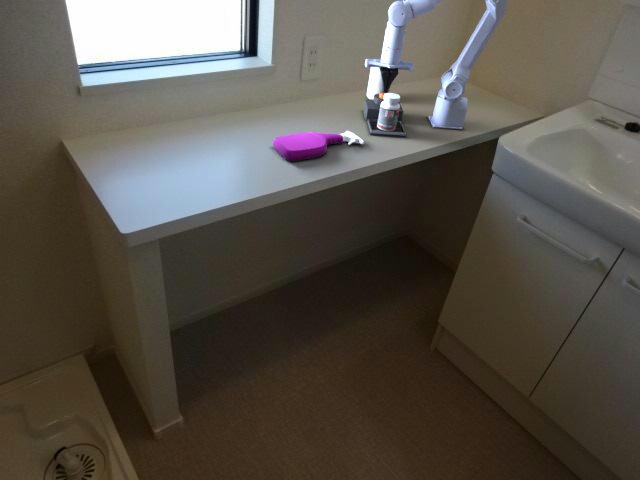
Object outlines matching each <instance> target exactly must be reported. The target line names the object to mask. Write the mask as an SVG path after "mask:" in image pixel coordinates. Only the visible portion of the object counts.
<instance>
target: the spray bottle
mask: <svg viewBox="0 0 640 480" xmlns="http://www.w3.org/2000/svg"><path fill="white" fill-rule="evenodd" d="M343 142H348V143H347V145H348V146H350V145H352V144H360V145H364V144H365V141H364V140H363V138H361V137H359V136H358V135H357V134H355V133H354V132H351V131H349V130H346V131H345V132H343V133H332V132H331V133H329V132H328V133H327V132H316V131H310V132H300V133H299V132H298V133H292V134H286V135H281V136H278V137H275V138H274V139H273V141H272V146H273V148H274V150H275V151H277V152H278V154H280V155H281V156H282V157H283V158H284V159H285V160H287V161H289V162H295V161H302V160H307V159H314V158H318V157H321V156H323V155H324V154H326V152H327V150H328V146H330V145H335V144H340V145H341V144H342V143H343Z"/></svg>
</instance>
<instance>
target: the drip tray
mask: <svg viewBox="0 0 640 480" xmlns="http://www.w3.org/2000/svg"><path fill="white" fill-rule="evenodd" d="M366 123H367V124H366V125H367V127H368V132H369V135H370V136H379V137H391V138H392V137H394V138H406V135H407V131H406V129H405V127H404V125H403V122H402V120H401V121H397V125H396V129H395V130H394V131H383V130H381V129H379V128H378V127H377V123H378V119H368V120H367V121H366Z"/></svg>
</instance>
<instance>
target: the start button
mask: <svg viewBox="0 0 640 480" xmlns="http://www.w3.org/2000/svg"><path fill="white" fill-rule="evenodd" d="M388 93H390V91H389V92H388ZM384 94H386V93H383V91H380V93H379V98H381V99H384Z"/></svg>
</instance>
